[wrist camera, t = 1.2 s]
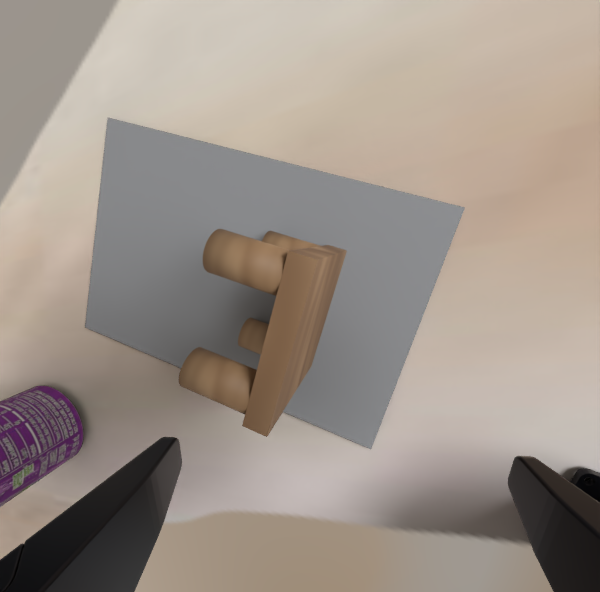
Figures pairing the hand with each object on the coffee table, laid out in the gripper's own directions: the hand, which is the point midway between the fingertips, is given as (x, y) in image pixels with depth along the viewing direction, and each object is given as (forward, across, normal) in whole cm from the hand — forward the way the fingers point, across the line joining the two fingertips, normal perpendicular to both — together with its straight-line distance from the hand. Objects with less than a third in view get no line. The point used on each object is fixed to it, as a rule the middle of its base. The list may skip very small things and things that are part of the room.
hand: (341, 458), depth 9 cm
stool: (+13, +2, 0) cm, 13 cm away
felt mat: (+14, +6, 0) cm, 16 cm away
